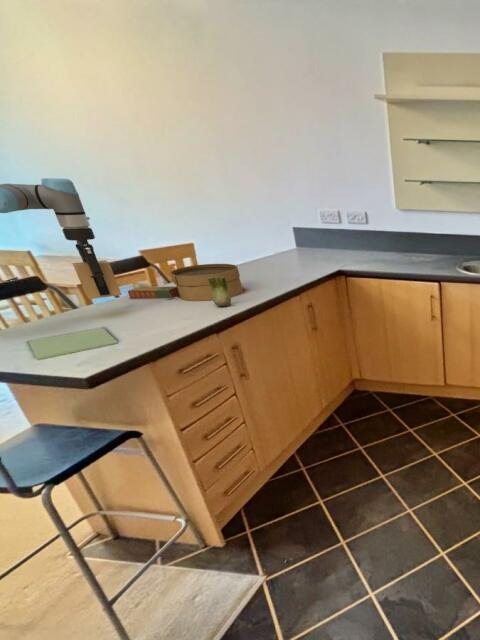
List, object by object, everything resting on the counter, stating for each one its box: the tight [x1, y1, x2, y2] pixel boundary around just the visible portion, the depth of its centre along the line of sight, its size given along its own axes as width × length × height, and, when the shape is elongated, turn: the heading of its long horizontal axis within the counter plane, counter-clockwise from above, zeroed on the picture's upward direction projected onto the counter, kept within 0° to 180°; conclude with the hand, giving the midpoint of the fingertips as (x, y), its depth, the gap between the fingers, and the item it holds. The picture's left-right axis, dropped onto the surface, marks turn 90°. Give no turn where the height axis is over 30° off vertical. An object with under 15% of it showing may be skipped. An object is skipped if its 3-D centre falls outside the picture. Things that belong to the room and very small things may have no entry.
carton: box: [127, 286, 180, 301], centre depth 180 cm, size 8×16×4 cm, turn 98°
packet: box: [71, 259, 122, 300], centre depth 152 cm, size 6×9×12 cm, turn 141°
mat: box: [28, 328, 119, 361], centre depth 132 cm, size 20×18×1 cm
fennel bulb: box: [208, 277, 232, 307], centre depth 169 cm, size 6×5×12 cm
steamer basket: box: [170, 263, 244, 302], centre depth 186 cm, size 25×25×11 cm
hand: (103, 293), depth 155 cm, fingers closed on packet, 6 cm apart
